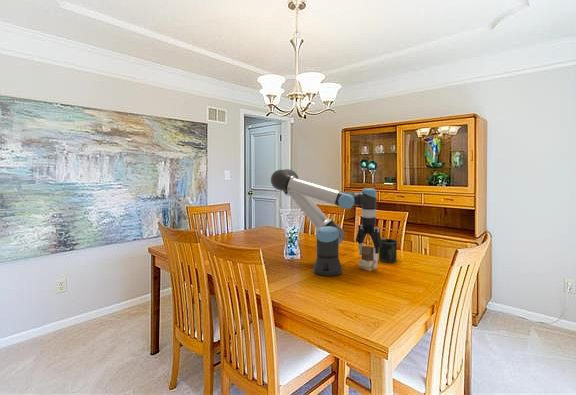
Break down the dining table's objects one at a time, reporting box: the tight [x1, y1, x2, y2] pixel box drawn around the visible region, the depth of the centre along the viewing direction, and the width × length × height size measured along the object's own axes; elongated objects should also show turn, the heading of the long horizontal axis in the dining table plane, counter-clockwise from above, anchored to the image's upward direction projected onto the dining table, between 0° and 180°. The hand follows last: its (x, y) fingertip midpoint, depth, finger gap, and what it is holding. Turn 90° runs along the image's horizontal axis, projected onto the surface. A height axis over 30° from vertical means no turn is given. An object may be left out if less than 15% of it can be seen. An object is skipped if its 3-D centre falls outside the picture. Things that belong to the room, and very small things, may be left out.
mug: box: [378, 238, 398, 263], centre depth 193 cm, size 11×15×12 cm
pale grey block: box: [358, 258, 379, 271], centre depth 178 cm, size 7×7×5 cm
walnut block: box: [361, 245, 375, 261], centre depth 177 cm, size 5×5×7 cm
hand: (368, 256), depth 177 cm, fingers open, 10 cm apart
